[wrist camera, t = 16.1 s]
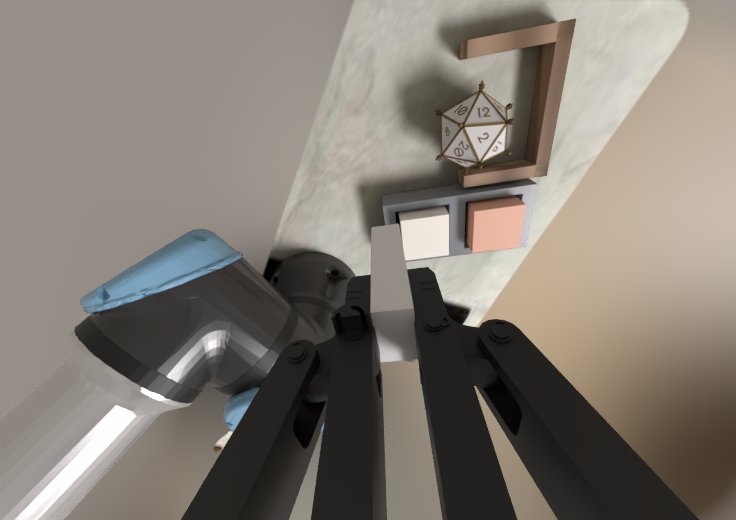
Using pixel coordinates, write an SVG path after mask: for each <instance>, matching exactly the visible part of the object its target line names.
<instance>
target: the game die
mask: <svg viewBox="0 0 736 520" xmlns="http://www.w3.org/2000/svg"><path fill="white" fill-rule="evenodd" d="M483 88H484V83H483V80H482V82H481V83H480V84H479V91H478V92H476V93H475V94H473V95H471V96H470V97H468V98H466V99H465V100H463V101H461V102H460V103H458V104H456V105H455V106H453V107H451V108H450V109H448V110H446V111H445V112H443V113H442V112H441V111H439V110H434V111H435V113H436V114H437V115H439V116H441V155H438V156H437V158H436V160H439V161H440V159H441V158H442V157H444V158H447V159H449V160H451V161H453V162H455V163H457V164H459V165H461V166H463V167H466V168H465V169H464V170H465V171H464V172H465V174H467V173H468V172H469V167H472V166H475V165H478V169H480V170H481V169H482V167H483V164H482V163H483V162H485V161H487V160H489V159H491V158H493V157H495V156H497V155H499V154H501V153H503V152H504V153H505V154H507V155H512V154H511V152H510V151H509V150H506V140H507V129H508V124H509V125H511V124H513V123H514V122H515V120H514V119H513V118H512V119H509V120H508V116H507V110H509V109H510V108H512V106H513V103H512V104H510V103H509V104H508V105H507V106H506V107H504V106H503V105H501V104H500V103H499V102H497V101H496V100H494V99H493V98H492V97H490V96H489V95H487V94H486V93H485V92H483Z"/></svg>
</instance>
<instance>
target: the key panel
mask: <svg viewBox="0 0 736 520" xmlns="http://www.w3.org/2000/svg"><path fill="white" fill-rule="evenodd" d="M536 188H537V184H536V183H535V182H533V181H532V180H530V179H529V178H527V179H520V180H513V181H507V182H500V183H493V184H486V185H479V186H473V187H466V188H464V187H463V186H462V185H461V184H455V185H448V186H441V187H434V188H428V189H421V190H414V191H408V192H401V193H394V194H387V195H382V206H383V214H384V221H385V225H392V224H396V217H395V212H398V211H405V210H412V209H419V208H426V207H433V206H440V205H444V206H445V208H446V210H447V212H448V213H449V255H446V256H438V257H430V258H422V259H414V260H406V262H409V261H417V260H425V259H433V258H441V257H449V256H457V255H465V254H473V253H472V251H471V250H470V248H469V246H468V244H467V243H466V234H465V207H466V202H468V201H475V200H482V199H489V198H496V197H503V196H517V197H518V198H519V199H520V200H521V201H523V202H524V203H525V204H526V208H525V214H524V221H523V227H522V233H521V240H520V246H519V247H517V248H521V247H526V246H527V240H528V234H529V228H530V222H531V217H532V211H533V205H534V199H535V193H536ZM509 249H513V248H509ZM501 250H505V249H501ZM493 251H497V250H493ZM485 252H489V251H485ZM477 253H481V252H477Z"/></svg>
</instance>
